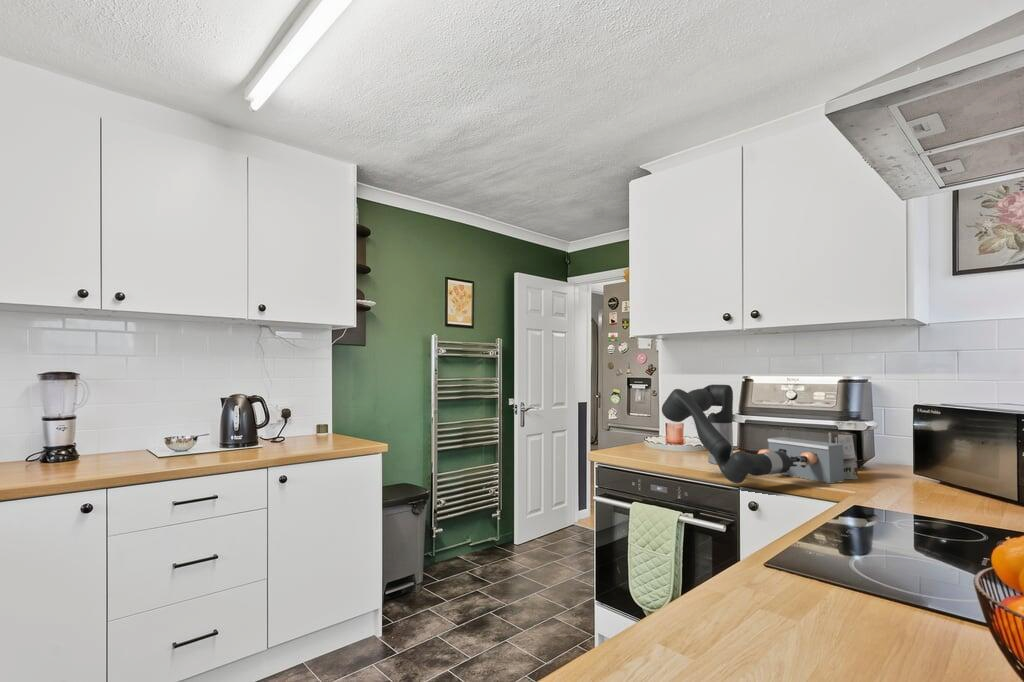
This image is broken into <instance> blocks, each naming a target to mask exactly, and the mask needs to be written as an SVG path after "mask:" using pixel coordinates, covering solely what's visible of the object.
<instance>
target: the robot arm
mask: <svg viewBox="0 0 1024 682" xmlns="http://www.w3.org/2000/svg"><path fill="white" fill-rule="evenodd" d="M733 406H734V393H733V388H732V386H731V385H729V384H709V385H706V386H705V387H703V388H697V389H693V390H690V391H688V392H686V391H685V390H683V389H680V388H675V389H673V390H672V391H671V392H670V394H669V395H668V396H667V398H666V399H665V401H664V402H663V404H662V407H661V412H662V415H663V417H665V418H666V419H667V420H669V421H671V422H674V423H682V422H683V421H685V420H686V419H688V418H689V417H692V419H693V422H694V425H695V429H696V433H697V435H698V436H697V437H698V439H699V441H700V443H701V445H703V447H704V448H705V449H706V450H707V457H708V461H707V462H708V463H710V464H714V465H717V467H718V468H719V470H720V472H721V474H722V475H723V476H724V477H725V478H726V479H727V481H729V482H731V483H733V484H741V483H743V482H744V480H745V478H747V476H748V475H751V476H753V477H754V476H755V477H757V476H772V475H781V473H786V472H787V471H788V470H789V469H790V468H793V467H795V466H798V465H800V466H801V467H803V468H805V467H806V463H807V456H792V455H787V454H785V453H784V452H782V451H773V452H764V453H761V454H758V453H751V452H746V451H744V450H738V451H735V452H734V435H733V434H734V433H733V432H734V431H733V409H734V408H733ZM712 407H721V410H720V411H718V412H716V413H713V414H710V415H709V416H707V415H706V414H705V412H707V411H708V410H710V409H711V408H712ZM708 417H709V418H708Z"/></svg>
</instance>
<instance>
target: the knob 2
mask: <svg viewBox="0 0 1024 682" xmlns="http://www.w3.org/2000/svg"><path fill="white" fill-rule="evenodd" d="M800 456H807V463H806V465H813V464H815V463H816V462H817V455H815V454H814V453H813V452H806V453H802V454H801V455H800Z"/></svg>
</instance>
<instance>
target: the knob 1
mask: <svg viewBox="0 0 1024 682" xmlns="http://www.w3.org/2000/svg"><path fill="white" fill-rule="evenodd" d="M764 452H772V451H771V450H769V448H766V449H765V448H764V449H760V450H758V452H757V454H761V453H764ZM782 452H784V453H785V454H787V453H786V451H782Z"/></svg>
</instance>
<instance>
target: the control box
mask: <svg viewBox="0 0 1024 682" xmlns="http://www.w3.org/2000/svg"><path fill="white" fill-rule="evenodd" d="M767 442H768V449H769V450H771V451H772V452H773V451H786V453H787V455H792V456H800V455H801V454H802V453H806V452H813V453H814V454H815V455H817V462H816V463H815V464H813V465H806V467H805V468H803V467H801V466H800V465H798V466H795V467H793V468H790V469H789V470H788V471H787V472H786V473H781V474H785V475H784V476H786V475H790V476H789V477H792V476H795V477H794V478H797V477H800V478H799V479H802V478H805V479H804V480H807V479H810V480H809V481H813V480H815V481H814V482H818V481H821V482H820V483H823V482H826V483H825V484H828V483H832V484H834V483H833V482H838V483H840V482H839V481H844V482H845V479H844V463H843V444H835V443H829V442H825V441H817V440H808V439H800V438H792V437H783V436H781V437H780V436H779V437H769V438H767ZM781 474H780V475H781Z"/></svg>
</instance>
